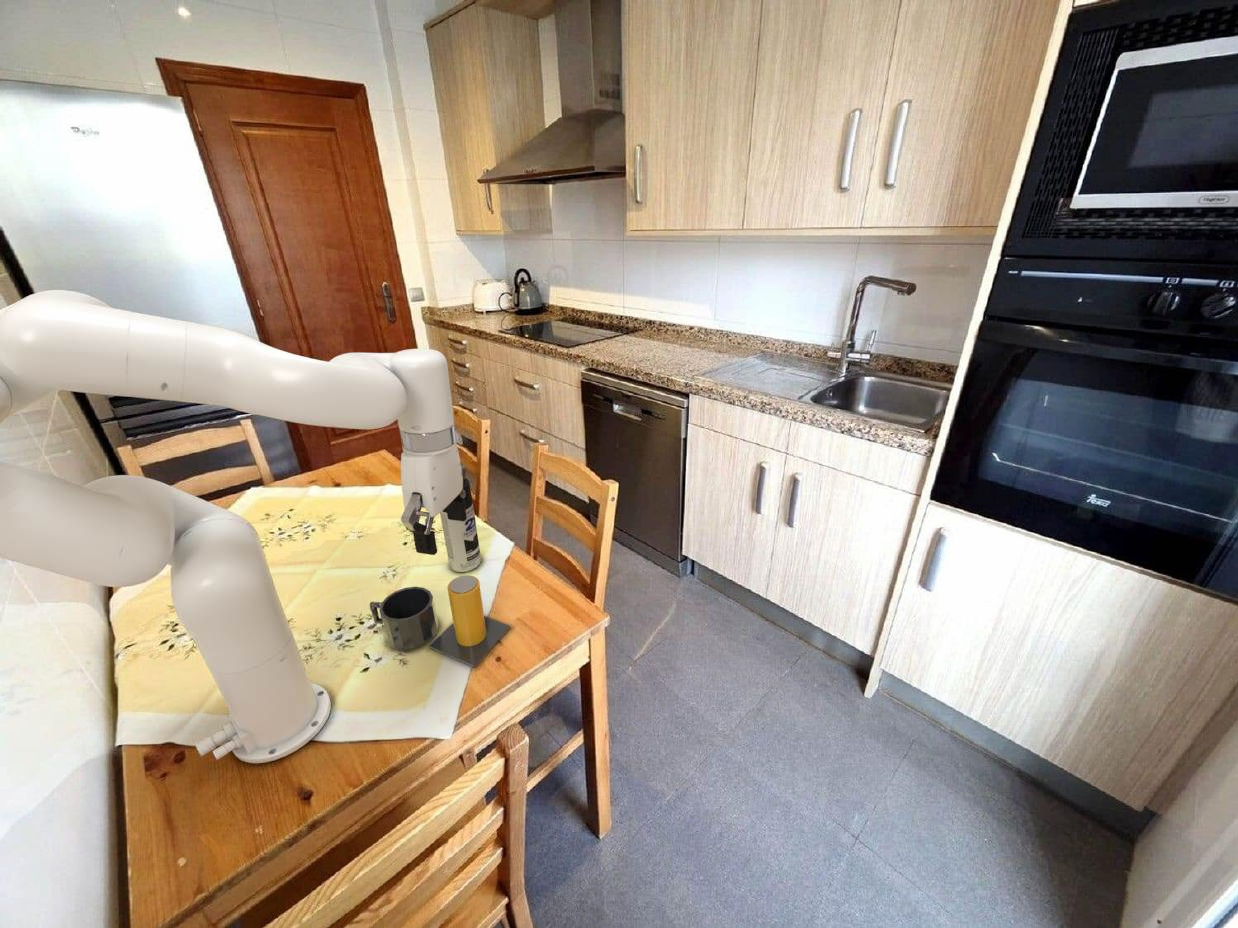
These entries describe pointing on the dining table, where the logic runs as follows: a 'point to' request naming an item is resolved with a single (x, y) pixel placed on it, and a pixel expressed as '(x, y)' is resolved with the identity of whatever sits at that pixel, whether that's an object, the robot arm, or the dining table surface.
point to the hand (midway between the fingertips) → (442, 535)
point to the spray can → (462, 537)
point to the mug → (407, 618)
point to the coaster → (470, 653)
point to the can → (467, 610)
